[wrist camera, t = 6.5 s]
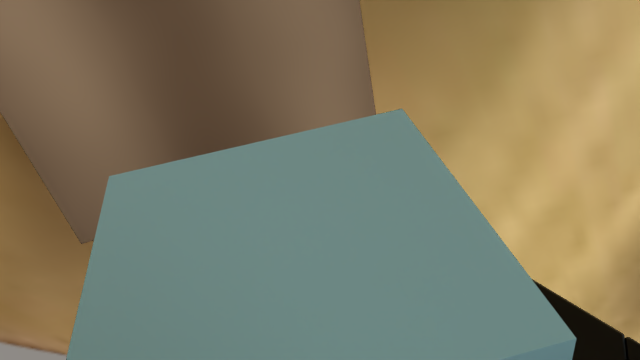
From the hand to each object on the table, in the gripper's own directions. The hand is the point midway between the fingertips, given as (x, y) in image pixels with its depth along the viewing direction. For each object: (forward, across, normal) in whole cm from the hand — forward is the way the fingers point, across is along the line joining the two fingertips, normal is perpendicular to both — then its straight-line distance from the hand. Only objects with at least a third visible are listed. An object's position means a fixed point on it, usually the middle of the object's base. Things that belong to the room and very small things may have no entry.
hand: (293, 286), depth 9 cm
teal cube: (+1, 0, 0) cm, 1 cm away
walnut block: (+11, +2, -2) cm, 12 cm away
